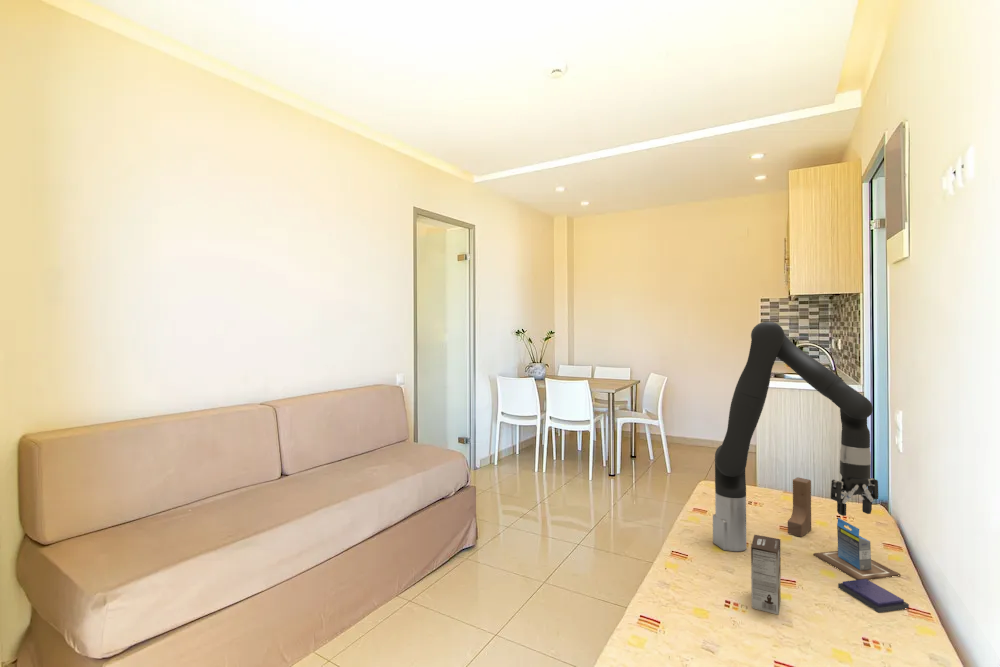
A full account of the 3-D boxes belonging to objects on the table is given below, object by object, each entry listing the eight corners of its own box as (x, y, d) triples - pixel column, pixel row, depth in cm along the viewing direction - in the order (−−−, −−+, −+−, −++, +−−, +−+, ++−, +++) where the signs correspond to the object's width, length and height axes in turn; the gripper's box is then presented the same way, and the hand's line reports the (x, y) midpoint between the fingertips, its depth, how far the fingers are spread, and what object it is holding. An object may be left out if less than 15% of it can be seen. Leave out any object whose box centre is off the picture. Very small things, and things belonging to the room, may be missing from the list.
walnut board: (858, 581, 138) (858, 578, 138) (813, 555, 154) (813, 552, 154) (900, 576, 141) (900, 573, 141) (851, 551, 156) (851, 549, 156)
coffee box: (754, 591, 134) (753, 533, 133) (781, 598, 130) (780, 538, 130) (751, 608, 126) (750, 546, 126) (779, 615, 122) (779, 552, 122)
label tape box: (872, 570, 143) (872, 528, 143) (859, 570, 143) (858, 528, 143) (848, 556, 152) (848, 516, 152) (836, 556, 152) (836, 517, 152)
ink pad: (878, 612, 123) (878, 604, 123) (838, 587, 135) (838, 580, 135) (908, 608, 125) (908, 601, 125) (866, 584, 136) (866, 577, 136)
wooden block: (801, 537, 167) (801, 485, 167) (787, 533, 170) (786, 482, 170) (811, 530, 172) (811, 479, 172) (797, 526, 176) (797, 476, 176)
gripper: (864, 456, 152) (863, 508, 152) (824, 458, 149) (823, 510, 150) (887, 462, 144) (886, 517, 145) (845, 465, 142) (844, 520, 142)
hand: (854, 513), depth 147 cm, fingers open, 8 cm apart
